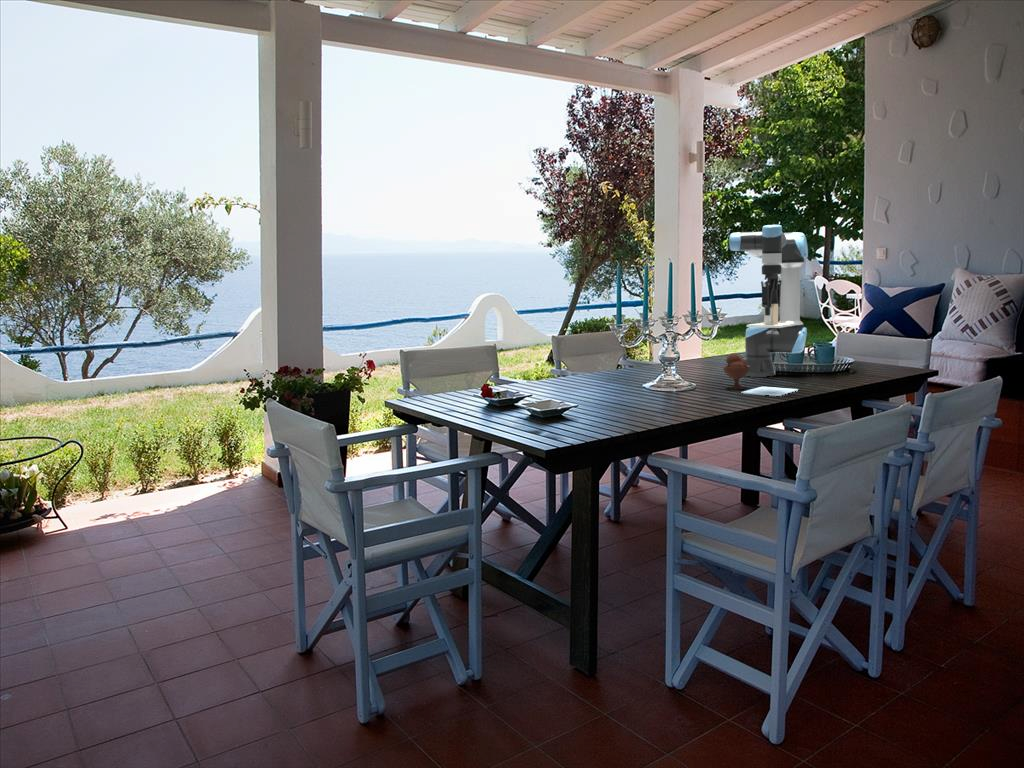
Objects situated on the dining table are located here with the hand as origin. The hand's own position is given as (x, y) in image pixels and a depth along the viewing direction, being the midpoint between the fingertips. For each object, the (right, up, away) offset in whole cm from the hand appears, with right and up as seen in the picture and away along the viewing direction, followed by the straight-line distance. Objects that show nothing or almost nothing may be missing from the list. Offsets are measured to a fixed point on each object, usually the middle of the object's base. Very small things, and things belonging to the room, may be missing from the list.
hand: (770, 323), depth 340 cm
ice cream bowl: (-10, -26, +16) cm, 32 cm away
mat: (+1, -28, +4) cm, 28 cm away
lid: (0, -1, 0) cm, 1 cm away
